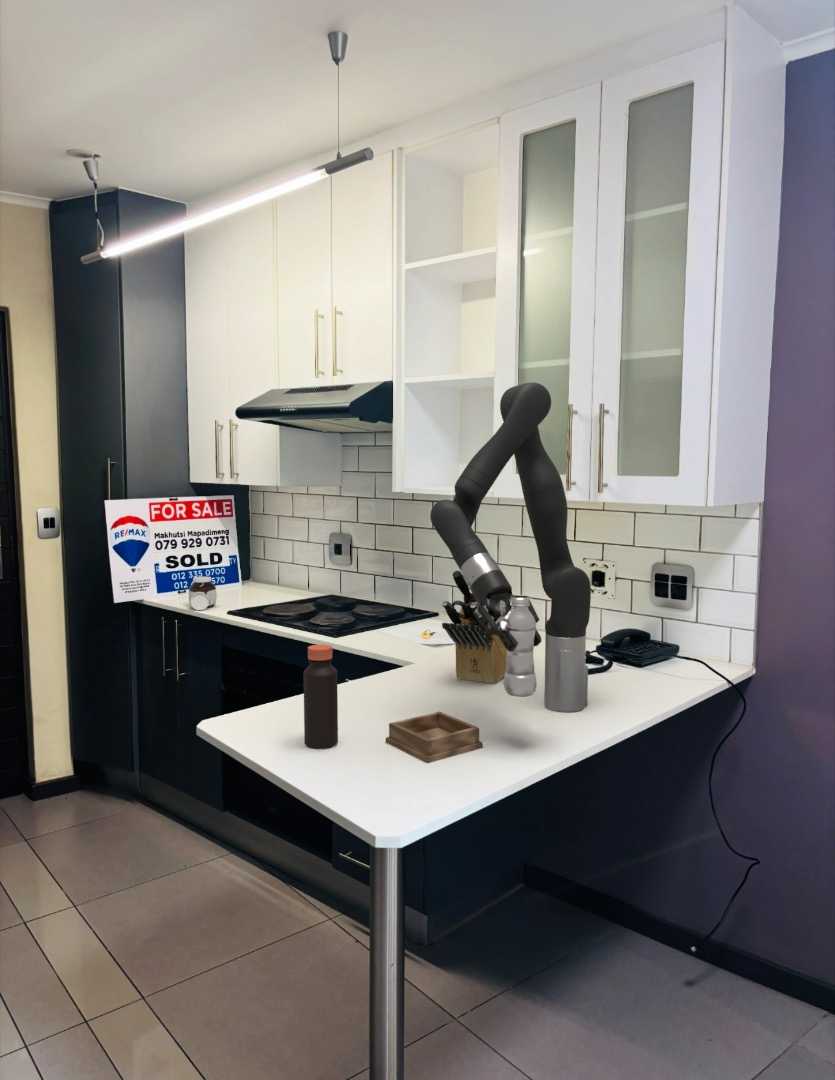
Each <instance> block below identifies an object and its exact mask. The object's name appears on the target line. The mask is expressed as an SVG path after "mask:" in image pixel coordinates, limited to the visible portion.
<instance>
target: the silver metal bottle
mask: <svg viewBox="0 0 835 1080" xmlns="http://www.w3.org/2000/svg"><path fill="white" fill-rule="evenodd" d="M529 600H530V596H529V595H524V594H515V595H513V596H511V603H510V606H512V607H511V610H510V611H509V612H508V614H507V615H506V619H505V625H506V628H507V629H506V631H507V630H508V631H509V632H510V634H511V636H512V637H513V639H514V641H515V642H516V644H517V647H516V648H515V649H514V651H511V652H509V651H508V649H507V650H506V654H507V657H506V671H505V675H504V676H503V688H504V691H505V692H506V694H507V695H508V696H511V697H512V696H513V697H517V698H518V697H521V698H522V697H523V698H524V697H531V696H533V695H534V693H535V692H536V689H537V684H538V683H537V677H536V676H537V675H536V672H535V662H534V661H535V659H534V647H535V646H534V638H535V630H537V623H536V621H535V618H534V616H533V615H532V613H531V612H530V610H529V609H528V606H530V603H529ZM535 628H536V629H535Z"/></svg>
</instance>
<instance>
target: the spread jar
mask: <svg viewBox="0 0 835 1080" xmlns="http://www.w3.org/2000/svg"><path fill="white" fill-rule="evenodd" d="M192 581H193V583H191V585H190V586H189V588H188V602H189V604H190V606H191V607H192V608H193V609H194V610H196V611H199V610H201V611H203V610H204V611H205V610H206V608H207V609H211V608H213V607H214V606H215V605H216V603H217V600H218V599H217V598H218V597H217V596H218V595H217V593H218V592H217V587H216V586H215V584H214V582H212V577H211V576H195V577H193V578H192ZM210 607H211V608H210Z"/></svg>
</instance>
